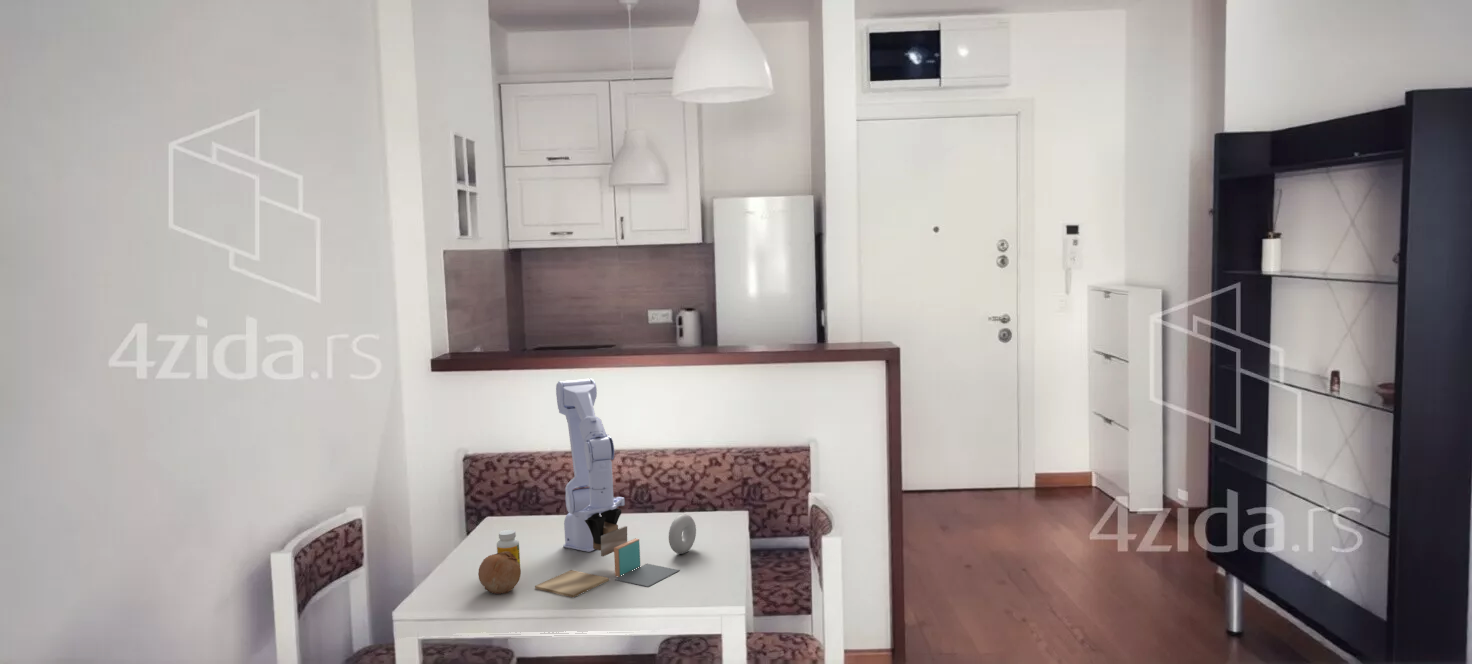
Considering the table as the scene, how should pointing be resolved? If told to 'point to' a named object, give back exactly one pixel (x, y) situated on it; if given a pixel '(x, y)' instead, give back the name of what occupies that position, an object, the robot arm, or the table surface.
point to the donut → (675, 533)
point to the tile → (627, 557)
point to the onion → (499, 572)
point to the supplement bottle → (508, 543)
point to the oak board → (571, 583)
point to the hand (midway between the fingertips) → (603, 541)
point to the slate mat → (647, 575)
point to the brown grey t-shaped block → (611, 538)
